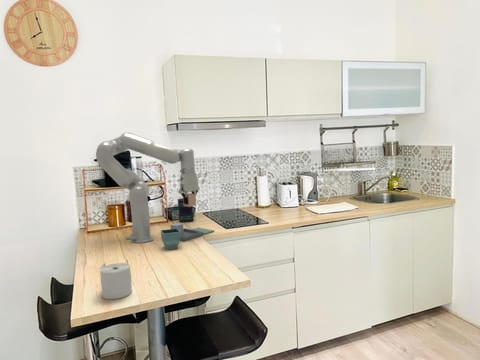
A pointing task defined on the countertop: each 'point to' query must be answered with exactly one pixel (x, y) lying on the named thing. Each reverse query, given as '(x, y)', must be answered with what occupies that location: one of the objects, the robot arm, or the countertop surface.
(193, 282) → the countertop surface
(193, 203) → the labelled box
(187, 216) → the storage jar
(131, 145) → the robot arm
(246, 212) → the countertop surface
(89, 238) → the countertop surface
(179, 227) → the plain box
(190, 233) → the parts tray
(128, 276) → the toilet tissue
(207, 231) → the mat
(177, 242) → the flower pot
